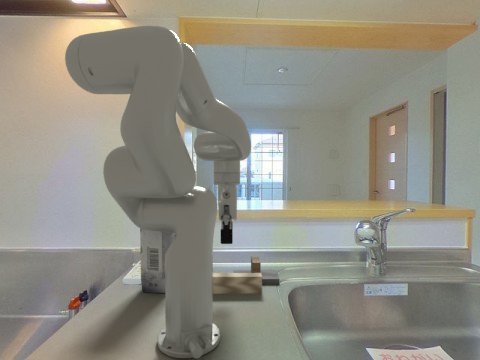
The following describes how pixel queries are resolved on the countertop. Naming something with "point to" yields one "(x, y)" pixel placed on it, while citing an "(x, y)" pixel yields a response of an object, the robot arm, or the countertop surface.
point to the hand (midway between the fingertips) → (226, 239)
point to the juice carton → (154, 259)
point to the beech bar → (237, 283)
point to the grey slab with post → (261, 271)
